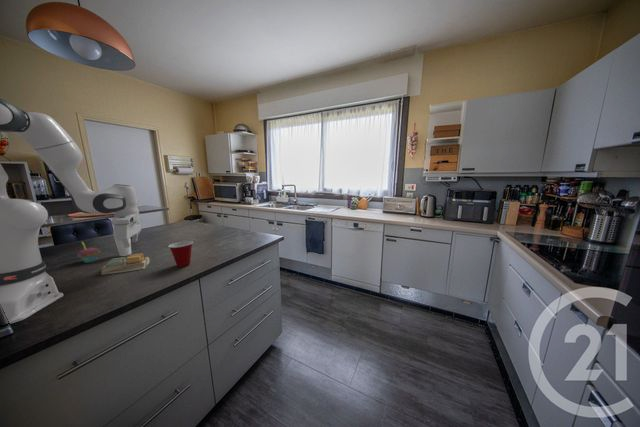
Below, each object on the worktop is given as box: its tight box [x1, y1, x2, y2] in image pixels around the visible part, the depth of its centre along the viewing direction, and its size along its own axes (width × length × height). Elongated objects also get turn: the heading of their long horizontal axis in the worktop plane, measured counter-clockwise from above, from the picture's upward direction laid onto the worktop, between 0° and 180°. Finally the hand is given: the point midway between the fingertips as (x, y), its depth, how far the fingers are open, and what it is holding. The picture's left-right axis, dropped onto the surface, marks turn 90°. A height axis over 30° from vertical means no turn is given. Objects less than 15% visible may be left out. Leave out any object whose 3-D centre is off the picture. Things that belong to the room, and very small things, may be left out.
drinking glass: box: [112, 230, 132, 257], centre depth 121 cm, size 7×7×15 cm
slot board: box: [100, 256, 151, 276], centre depth 106 cm, size 10×16×5 cm, turn 114°
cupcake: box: [76, 241, 101, 263], centre depth 113 cm, size 9×8×12 cm
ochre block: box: [126, 252, 144, 264], centre depth 107 cm, size 5×5×5 cm
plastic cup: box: [168, 240, 194, 268], centre depth 109 cm, size 11×11×12 cm
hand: (131, 244), depth 105 cm, fingers open, 8 cm apart
